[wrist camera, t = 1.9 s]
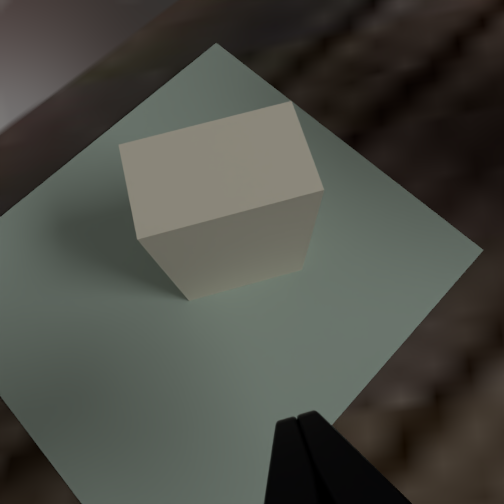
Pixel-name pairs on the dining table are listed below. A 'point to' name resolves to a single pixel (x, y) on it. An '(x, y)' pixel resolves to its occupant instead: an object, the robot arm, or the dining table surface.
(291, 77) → the dining table surface
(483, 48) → the dining table surface
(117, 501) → the rubber mat
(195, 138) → the card box
